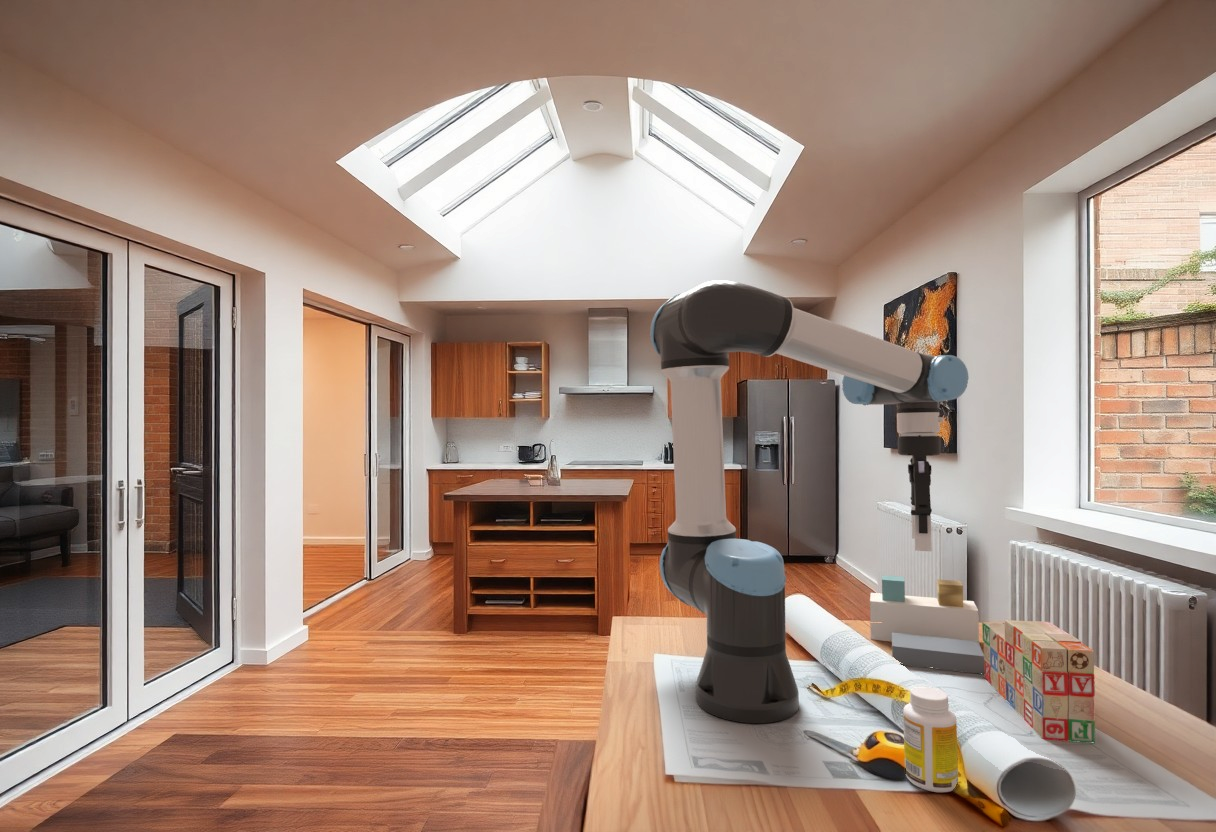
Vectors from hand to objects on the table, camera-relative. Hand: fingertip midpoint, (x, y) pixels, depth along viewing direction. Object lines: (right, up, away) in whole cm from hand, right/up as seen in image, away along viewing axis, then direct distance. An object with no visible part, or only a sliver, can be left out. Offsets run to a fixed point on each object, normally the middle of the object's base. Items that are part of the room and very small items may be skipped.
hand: (921, 544), depth 125 cm
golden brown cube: (+4, -11, -2) cm, 12 cm away
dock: (-3, -18, -12) cm, 22 cm away
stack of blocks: (+2, -18, -31) cm, 36 cm away
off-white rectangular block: (0, -18, 0) cm, 18 cm away
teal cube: (-5, -11, +2) cm, 12 cm away
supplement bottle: (-23, -18, -50) cm, 58 cm away
